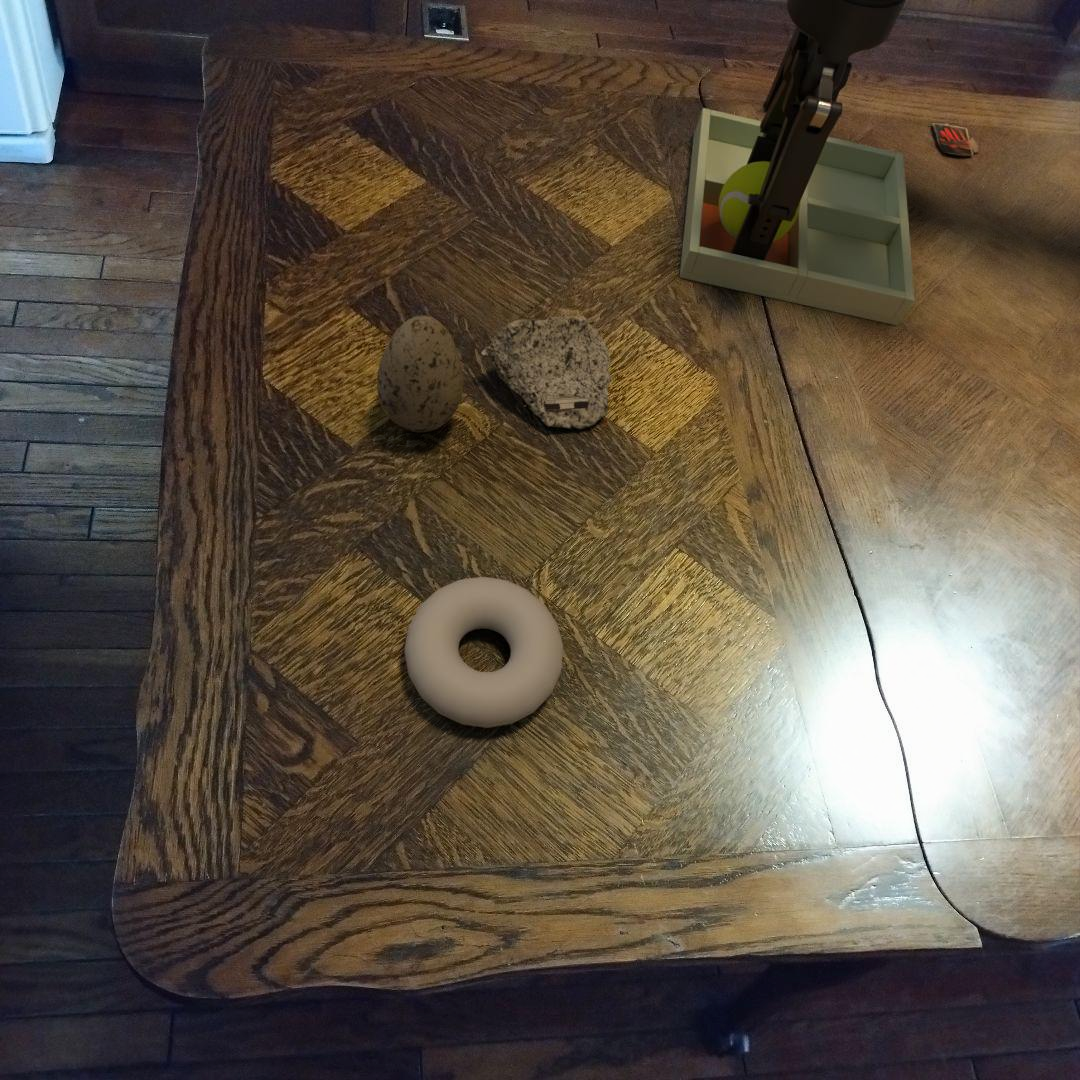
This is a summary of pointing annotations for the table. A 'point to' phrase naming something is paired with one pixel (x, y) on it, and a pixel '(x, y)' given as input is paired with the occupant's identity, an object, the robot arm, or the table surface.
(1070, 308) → the table surface
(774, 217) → the robot arm
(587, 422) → the rock sample
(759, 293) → the grid
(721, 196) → the tennis ball
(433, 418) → the decorative egg
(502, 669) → the donut
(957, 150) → the matchbox
